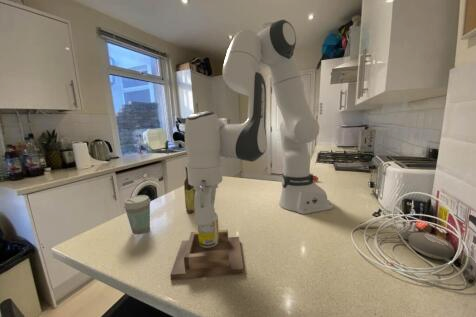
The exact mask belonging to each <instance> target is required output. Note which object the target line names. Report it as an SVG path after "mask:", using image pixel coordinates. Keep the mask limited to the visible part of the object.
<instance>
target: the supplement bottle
mask: <svg viewBox="0 0 476 317" xmlns="http://www.w3.org/2000/svg"><path fill="white" fill-rule="evenodd" d="M215 210H216V209H215V208H214V210H213V218H212V224H211V231H210V232H204V230H203V226H197V232H198V236H199V244H200V245H201V246H202V247H205V248H210V247H213V246H215V245H216V244H217V243H218V241H219V233H218V230H219V218H218V217H219V216H218V214H217V212H215Z"/></svg>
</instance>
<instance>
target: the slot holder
mask: <svg viewBox="0 0 476 317" xmlns="http://www.w3.org/2000/svg"><path fill="white" fill-rule="evenodd" d="M218 233H219V241H218V243H217V244H216V245H215V246H213V247H210V248H205V247H202V246H201V245H200V244H199V236H198V231H192V232H190V234H189V238H188V240H181V242H180V245H179V248H178V252H177V255H176V258H175V259H174V263H173V266H172V269H171V271H170V274H169V275H170V276H169V277H170V281H175V280H186V279H187V280H188V279H199V278H209V277H210V278H211V277H222V276H235V275H236V276H237V275H244V265H243V264H244V263H243V257H242V249H241V241H240V240H241V239H240V236H230V237H229V230H228V229H220V230H219V229H218Z"/></svg>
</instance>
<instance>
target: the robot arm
mask: <svg viewBox="0 0 476 317" xmlns="http://www.w3.org/2000/svg"><path fill="white" fill-rule="evenodd" d="M232 38H233V39H232V40H231V42H230V45H229V46H228V49H227V51H226V56H225V58H224V62H223V66H222V78H223V81H224V82H225V84H226V86H227V87H229V89H230V90H232V91H233V92H235V93H237V94H241V95H244V96H246V97H248V105H247V106H248V107H247V119H246V121H244V122H243V123H225V122H223V121H221V120H220V119H218V115H217V113H216V112H215V111H210V110H208V111H201V112H199V111H198V112H194V113H191V114H189V115H188V116H187V117H186V119H185V121H184V146H185V151H186V153H187V162H186V166H187V172H188V183H189V184H190V185H191V186H194V190H196V192H195V197H194V207H195V213H194V223H195V226H196V227H198V226H203V230H204V232H210V231H211V224H212V218H213V210H214V209H215V200H216V192H217V189H218V188H219V184H221V183H222V182H223V168H222V167H223V164H222V159H221V158H226V159H237V160H241V161H247V162H252V163H253V162H255V161H257V160H258V159H259V158H260V157H262V156H263V155H264V154H265V152H266V151H267V144H268V142H267V140H268V139H267V128H266V119H267V118H266V117H267V116H266V115H267V114H266V112H267V111H266V110H267V87H266V86H267V85H266V83H265V82H266V81H265V79H264V76H263V74H262V73H260V72H259V70H261V69H263V68H266V67H268V68H269V71H270V80H271V84H272V87H273V93H274V96H275V101H276V105H277V107H278V109H279V111H280V113H281V115H282V118H283V120H282V121H281V123H280V124H279V132H280V141H281V150H282V163H283V165H282V168H283V169H282V174H281V186H282V189H281V194H280V199H279V202H278V205H279V206H280V207H281V208H282V209H285V210H288V211H292V212H296V213H299V214H302V215H306V214H310V213H311V214H312V213H317V212H323V211H324V212H325V211H328V210H334V204H333V203H332V201H330V200H329V198H328V195H327V192H326V190H324V188H322V187H321V186H320V185H318V184H316V183H315V182H318V181H319V177H318V176H316V175H314V174H313V175H312V174H310V172H311V170H310V169H311V155H310V152H309V149H308V148H309V147H308V143H311V142H313V141H315V140H316V139H317V138H318V136H319V134H320V124H319V122H318V120H316V119H315V117H314V115H313V113H312V110H311V108H310V105H309V103H308V101H307V98H306V95H305V91H304V87H303V81H302V77H301V72H300V68H299V66H298V62H297V60H296V57H295V56H294V50H295V49H296V44H297V43H296V42H297V35H296V31H295V29H294V27H293V25H292V24H291V22H289V21H287V20H285V19H280V20H277V21H275V22H272V24H270V25H269V26H267V27H265V28H263V29H261V30H260V31H258V32H255V31H254V30H251V29H241V30H239V31H238V32H236V34H235V35H234V36H233V37H232Z"/></svg>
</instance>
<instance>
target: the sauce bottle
mask: <svg viewBox="0 0 476 317" xmlns="http://www.w3.org/2000/svg"><path fill="white" fill-rule="evenodd" d="M185 174H186V175H185V177H186V178H185V179H184V182H183V185H184V189H183V190H184V201H185V202H184V203H185V209H186V210H185V211H186V213H187V214H190V215H191V214H192V215H193V214H194V215H195V207H194V197H195V192H196V190H194V186H191V185H190V184H189V183H188V172H187V165H186V166H185Z"/></svg>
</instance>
